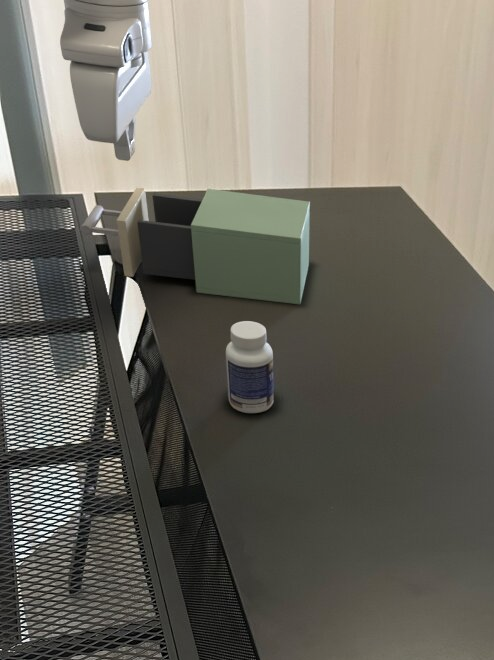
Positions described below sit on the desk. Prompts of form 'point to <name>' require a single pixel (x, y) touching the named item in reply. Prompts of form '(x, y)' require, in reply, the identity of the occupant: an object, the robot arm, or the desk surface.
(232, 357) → the pill bottle
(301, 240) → the green drawer cabinet
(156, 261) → the drawer
